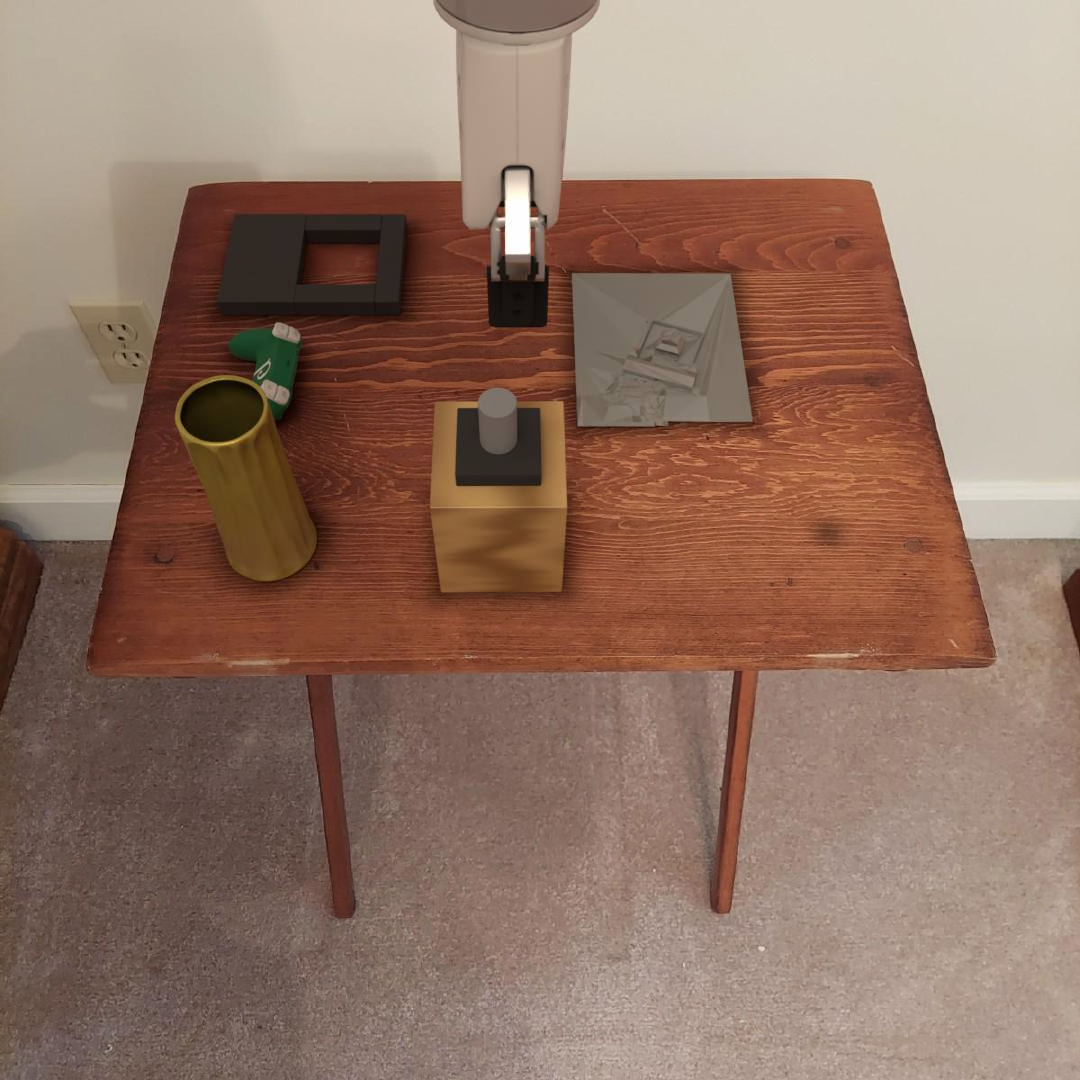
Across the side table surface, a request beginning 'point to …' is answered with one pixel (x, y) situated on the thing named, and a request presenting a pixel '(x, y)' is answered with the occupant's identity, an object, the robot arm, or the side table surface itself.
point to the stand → (499, 514)
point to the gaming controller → (271, 361)
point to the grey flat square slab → (657, 350)
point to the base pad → (279, 255)
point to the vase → (246, 477)
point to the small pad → (498, 466)
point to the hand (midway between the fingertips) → (517, 261)
